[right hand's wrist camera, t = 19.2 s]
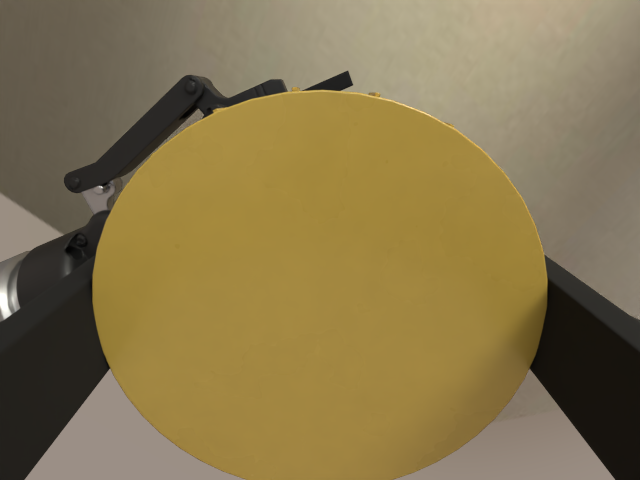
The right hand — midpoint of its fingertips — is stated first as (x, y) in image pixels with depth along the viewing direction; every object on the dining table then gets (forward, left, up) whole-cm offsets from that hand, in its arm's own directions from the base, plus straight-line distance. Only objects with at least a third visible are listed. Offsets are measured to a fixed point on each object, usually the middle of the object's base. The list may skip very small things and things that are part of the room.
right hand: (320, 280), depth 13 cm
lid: (0, 0, +2) cm, 2 cm away
